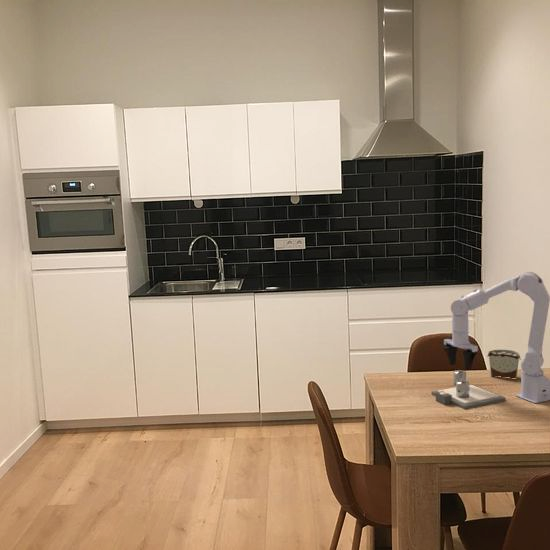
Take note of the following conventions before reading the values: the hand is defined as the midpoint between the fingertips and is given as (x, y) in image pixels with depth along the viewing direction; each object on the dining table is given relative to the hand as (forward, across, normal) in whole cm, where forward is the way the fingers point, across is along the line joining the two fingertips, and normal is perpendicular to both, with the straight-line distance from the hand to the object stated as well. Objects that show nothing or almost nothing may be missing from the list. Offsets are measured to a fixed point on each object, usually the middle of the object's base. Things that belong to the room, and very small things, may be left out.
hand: (460, 367), depth 231 cm
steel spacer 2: (+7, -9, +9) cm, 14 cm away
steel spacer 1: (+8, +4, -4) cm, 10 cm away
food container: (+9, +1, -26) cm, 27 cm away
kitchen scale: (+8, -8, +6) cm, 13 cm away
